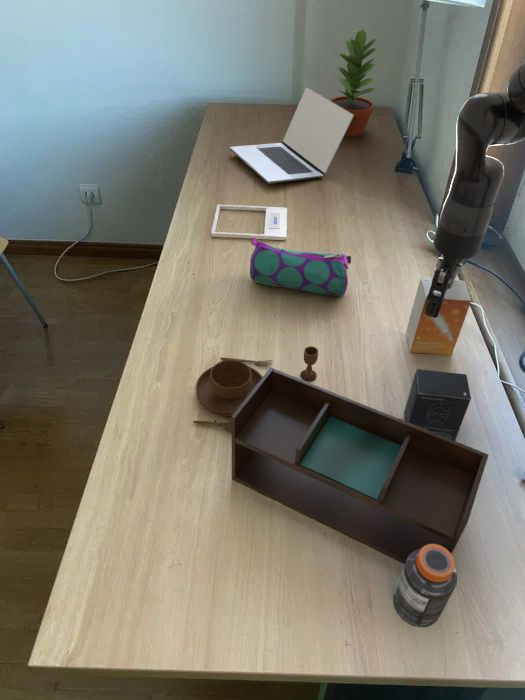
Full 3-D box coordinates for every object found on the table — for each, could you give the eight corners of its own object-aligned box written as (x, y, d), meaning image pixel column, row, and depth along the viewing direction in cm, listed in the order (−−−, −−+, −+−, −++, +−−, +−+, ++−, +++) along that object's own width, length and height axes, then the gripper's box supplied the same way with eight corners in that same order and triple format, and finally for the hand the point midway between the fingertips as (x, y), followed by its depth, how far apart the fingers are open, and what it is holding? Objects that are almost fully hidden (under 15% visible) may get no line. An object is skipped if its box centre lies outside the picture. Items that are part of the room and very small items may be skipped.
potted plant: (331, 139, 183) (343, 36, 163) (323, 122, 194) (333, 24, 174) (376, 139, 184) (393, 37, 164) (365, 122, 195) (380, 25, 175)
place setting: (209, 354, 104) (208, 330, 100) (317, 369, 102) (320, 344, 98) (184, 426, 91) (181, 401, 87) (307, 444, 89) (310, 419, 85)
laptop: (229, 150, 170) (233, 88, 159) (298, 144, 180) (306, 86, 169) (267, 185, 153) (275, 119, 142) (341, 176, 163) (354, 114, 152)
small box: (409, 353, 106) (425, 297, 97) (405, 331, 110) (419, 276, 102) (452, 356, 105) (472, 300, 97) (446, 334, 110) (464, 279, 102)
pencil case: (347, 281, 123) (354, 243, 116) (344, 305, 116) (350, 266, 110) (254, 268, 125) (255, 230, 119) (245, 291, 119) (246, 251, 112)
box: (450, 419, 94) (467, 373, 87) (453, 445, 89) (472, 399, 82) (402, 412, 94) (416, 366, 87) (403, 438, 90) (418, 392, 83)
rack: (459, 515, 80) (488, 454, 71) (438, 580, 73) (467, 522, 63) (267, 430, 91) (270, 367, 81) (231, 479, 83) (231, 416, 74)
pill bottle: (435, 582, 73) (458, 536, 65) (444, 630, 68) (470, 586, 61) (389, 580, 73) (406, 533, 65) (395, 627, 68) (415, 583, 61)
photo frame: (286, 236, 134) (211, 232, 134) (286, 240, 135) (211, 236, 135) (287, 207, 145) (217, 203, 145) (286, 210, 146) (217, 207, 146)
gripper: (476, 249, 85) (448, 331, 96) (495, 211, 94) (467, 289, 105) (428, 235, 87) (405, 317, 98) (451, 199, 97) (428, 277, 107)
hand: (437, 302), depth 101 cm, fingers closed on small box, 8 cm apart
